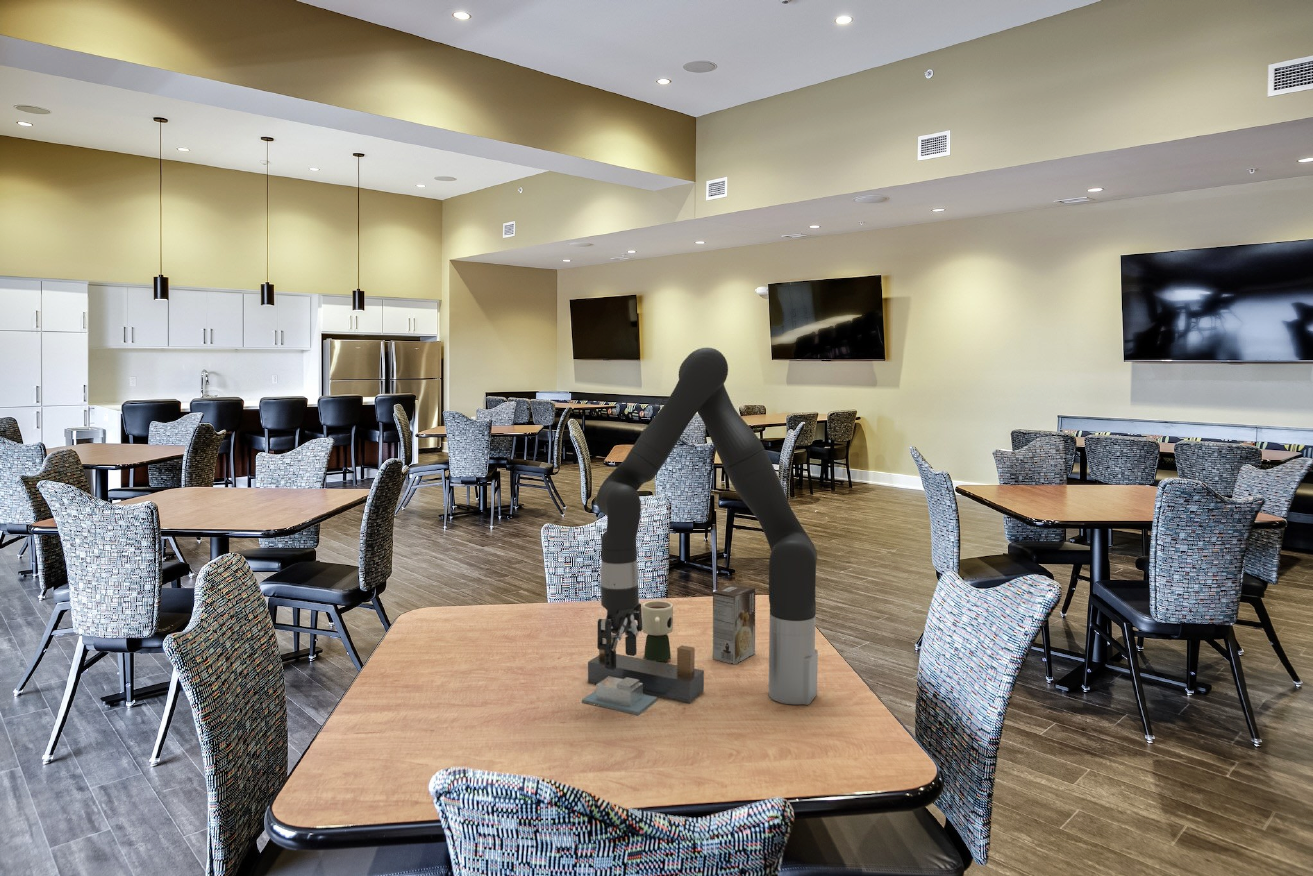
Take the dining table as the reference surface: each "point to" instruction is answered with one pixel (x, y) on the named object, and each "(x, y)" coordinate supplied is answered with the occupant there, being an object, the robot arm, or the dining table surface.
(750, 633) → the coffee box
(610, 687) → the lever cap
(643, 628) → the character mug
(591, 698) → the mat
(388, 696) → the dining table surface
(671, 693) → the dark grey post stand
